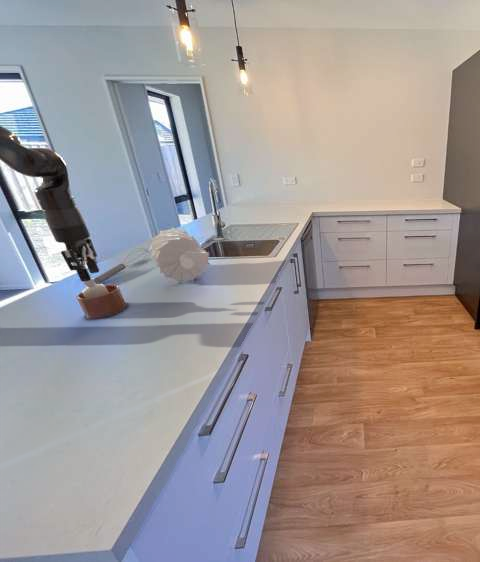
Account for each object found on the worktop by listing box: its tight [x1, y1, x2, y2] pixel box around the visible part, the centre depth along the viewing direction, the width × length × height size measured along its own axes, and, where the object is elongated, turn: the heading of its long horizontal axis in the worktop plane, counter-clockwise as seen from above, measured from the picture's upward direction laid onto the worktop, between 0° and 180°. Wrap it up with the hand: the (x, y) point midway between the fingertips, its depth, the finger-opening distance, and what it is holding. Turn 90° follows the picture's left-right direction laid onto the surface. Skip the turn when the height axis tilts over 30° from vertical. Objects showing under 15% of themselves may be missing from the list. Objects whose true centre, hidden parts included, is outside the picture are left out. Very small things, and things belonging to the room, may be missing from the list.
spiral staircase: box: [148, 227, 211, 283], centre depth 122 cm, size 18×18×25 cm
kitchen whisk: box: [93, 247, 152, 284], centre depth 129 cm, size 6×34×6 cm, turn 1°
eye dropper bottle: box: [81, 277, 109, 298], centre depth 95 cm, size 4×6×12 cm
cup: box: [76, 284, 127, 320], centre depth 97 cm, size 10×10×7 cm
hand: (91, 276), depth 93 cm, fingers open, 6 cm apart
